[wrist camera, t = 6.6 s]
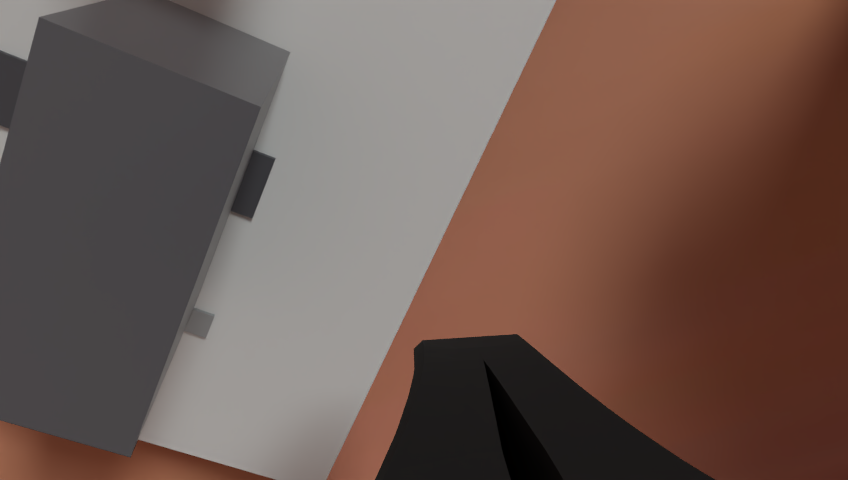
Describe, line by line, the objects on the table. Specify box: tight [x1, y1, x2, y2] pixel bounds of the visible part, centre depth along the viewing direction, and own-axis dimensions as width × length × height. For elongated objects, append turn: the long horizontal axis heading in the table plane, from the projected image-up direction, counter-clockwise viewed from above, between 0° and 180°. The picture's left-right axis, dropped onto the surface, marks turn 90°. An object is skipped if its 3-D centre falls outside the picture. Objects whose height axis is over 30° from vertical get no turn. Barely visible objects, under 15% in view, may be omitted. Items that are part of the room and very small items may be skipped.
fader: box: [0, 0, 290, 457], centre depth 11 cm, size 2×5×4 cm, turn 156°
